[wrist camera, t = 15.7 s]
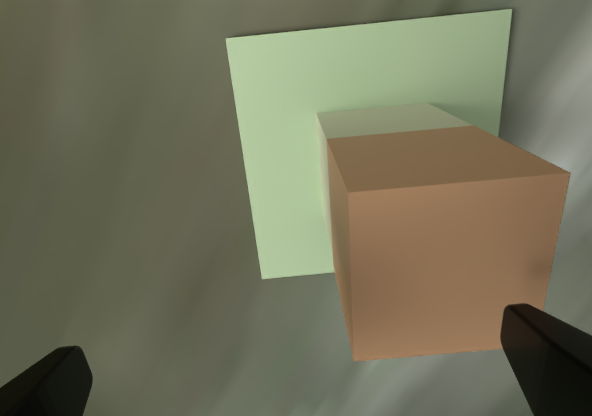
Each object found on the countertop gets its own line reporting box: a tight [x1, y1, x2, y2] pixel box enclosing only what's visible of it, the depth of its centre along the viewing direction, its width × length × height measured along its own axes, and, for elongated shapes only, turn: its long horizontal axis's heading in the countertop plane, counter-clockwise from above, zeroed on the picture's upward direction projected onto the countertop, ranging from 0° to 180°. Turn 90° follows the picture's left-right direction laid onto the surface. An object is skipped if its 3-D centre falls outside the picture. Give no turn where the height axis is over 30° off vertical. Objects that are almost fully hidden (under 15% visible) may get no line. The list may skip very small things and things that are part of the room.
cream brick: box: [316, 103, 473, 255], centre depth 17 cm, size 5×5×5 cm
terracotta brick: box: [326, 126, 570, 361], centre depth 12 cm, size 5×5×5 cm
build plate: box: [226, 9, 512, 279], centre depth 20 cm, size 12×12×1 cm
